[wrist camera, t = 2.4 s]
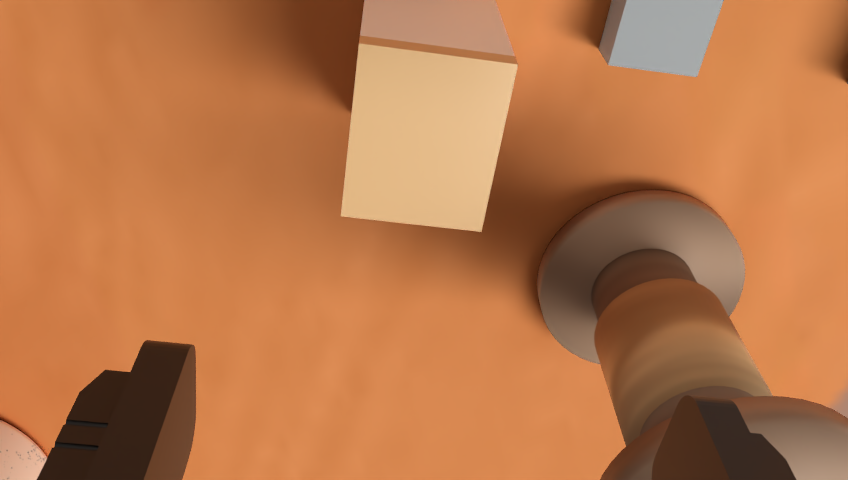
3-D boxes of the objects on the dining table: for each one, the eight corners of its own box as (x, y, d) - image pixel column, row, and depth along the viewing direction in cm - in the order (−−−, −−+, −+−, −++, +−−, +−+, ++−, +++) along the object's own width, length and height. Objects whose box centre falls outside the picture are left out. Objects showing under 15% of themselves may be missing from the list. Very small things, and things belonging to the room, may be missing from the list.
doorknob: (563, 178, 30) (647, 411, 20) (766, 202, 30) (947, 438, 20) (518, 342, 34) (568, 602, 24) (697, 359, 35) (819, 619, 25)
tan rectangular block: (368, -30, 25) (359, 43, 20) (491, -13, 26) (518, 64, 20) (352, 113, 28) (340, 215, 22) (464, 127, 28) (481, 231, 23)
